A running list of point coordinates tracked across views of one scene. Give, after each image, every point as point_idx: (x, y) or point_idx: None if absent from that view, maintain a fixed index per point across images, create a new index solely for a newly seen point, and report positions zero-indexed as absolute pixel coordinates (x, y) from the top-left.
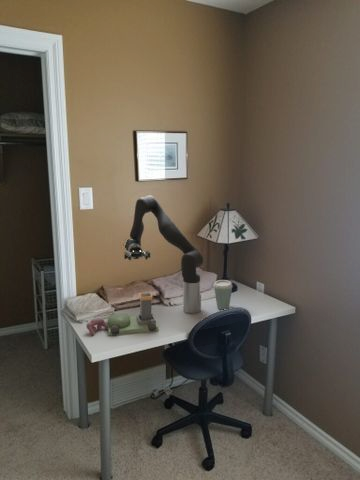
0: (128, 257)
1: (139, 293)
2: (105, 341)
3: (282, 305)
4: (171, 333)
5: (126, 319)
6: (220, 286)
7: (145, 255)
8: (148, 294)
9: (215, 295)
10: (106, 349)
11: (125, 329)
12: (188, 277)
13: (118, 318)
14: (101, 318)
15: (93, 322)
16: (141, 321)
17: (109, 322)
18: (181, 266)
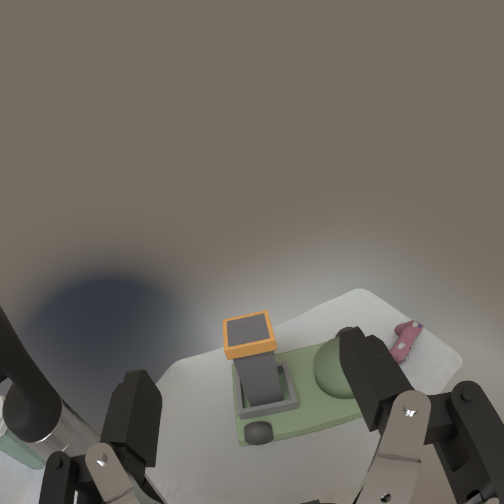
0: (378, 342)
1: (272, 339)
2: (357, 318)
3: None
4: (205, 359)
5: (322, 354)
6: (3, 400)
7: (138, 379)
8: (235, 333)
9: (24, 445)
10: (342, 298)
11: (320, 345)
12: (44, 377)
13: None
14: (398, 344)
15: (408, 325)
16: (277, 362)
17: None
18: (18, 371)
